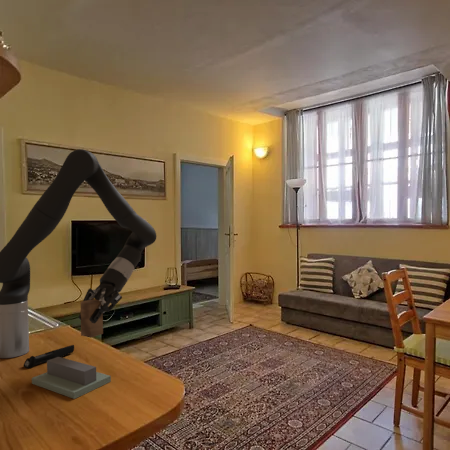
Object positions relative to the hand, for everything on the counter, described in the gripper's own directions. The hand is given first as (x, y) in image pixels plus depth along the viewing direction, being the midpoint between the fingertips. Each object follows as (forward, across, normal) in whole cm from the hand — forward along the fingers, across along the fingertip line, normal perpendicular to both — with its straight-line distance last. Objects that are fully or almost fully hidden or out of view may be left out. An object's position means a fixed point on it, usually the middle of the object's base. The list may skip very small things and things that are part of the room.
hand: (86, 320), depth 107 cm
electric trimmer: (+11, -16, +9) cm, 22 cm away
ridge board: (+16, +5, +3) cm, 17 cm away
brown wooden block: (+2, 0, +5) cm, 5 cm away
